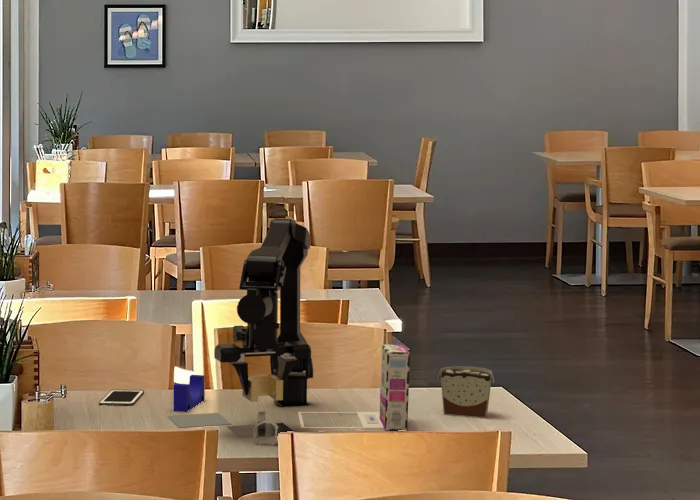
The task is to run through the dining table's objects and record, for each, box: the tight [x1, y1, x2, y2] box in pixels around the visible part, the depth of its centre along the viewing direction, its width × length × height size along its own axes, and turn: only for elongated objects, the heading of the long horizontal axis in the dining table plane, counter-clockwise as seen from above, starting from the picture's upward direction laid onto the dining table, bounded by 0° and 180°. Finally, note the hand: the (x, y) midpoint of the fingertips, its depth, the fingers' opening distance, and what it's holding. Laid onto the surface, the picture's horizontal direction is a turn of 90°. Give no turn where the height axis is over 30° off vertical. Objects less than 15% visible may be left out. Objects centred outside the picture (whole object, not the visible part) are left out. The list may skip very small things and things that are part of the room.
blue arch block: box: [173, 374, 206, 413], centre depth 277 cm, size 12×4×6 cm, turn 168°
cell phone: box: [98, 389, 145, 407], centre depth 283 cm, size 8×15×1 cm, turn 179°
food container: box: [437, 365, 495, 419], centre depth 273 cm, size 12×6×10 cm, turn 71°
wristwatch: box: [252, 420, 280, 446], centre depth 242 cm, size 3×5×5 cm, turn 81°
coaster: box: [167, 412, 233, 429], centre depth 261 cm, size 11×11×1 cm
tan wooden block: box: [242, 373, 283, 403], centre depth 252 cm, size 6×6×4 cm
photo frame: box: [297, 411, 385, 431], centre depth 264 cm, size 15×1×18 cm
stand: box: [225, 410, 294, 439], centre depth 253 cm, size 12×10×4 cm
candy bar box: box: [379, 343, 411, 432], centre depth 260 cm, size 11×5×16 cm, turn 5°
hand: (262, 394), depth 252 cm, fingers closed on tan wooden block, 6 cm apart
